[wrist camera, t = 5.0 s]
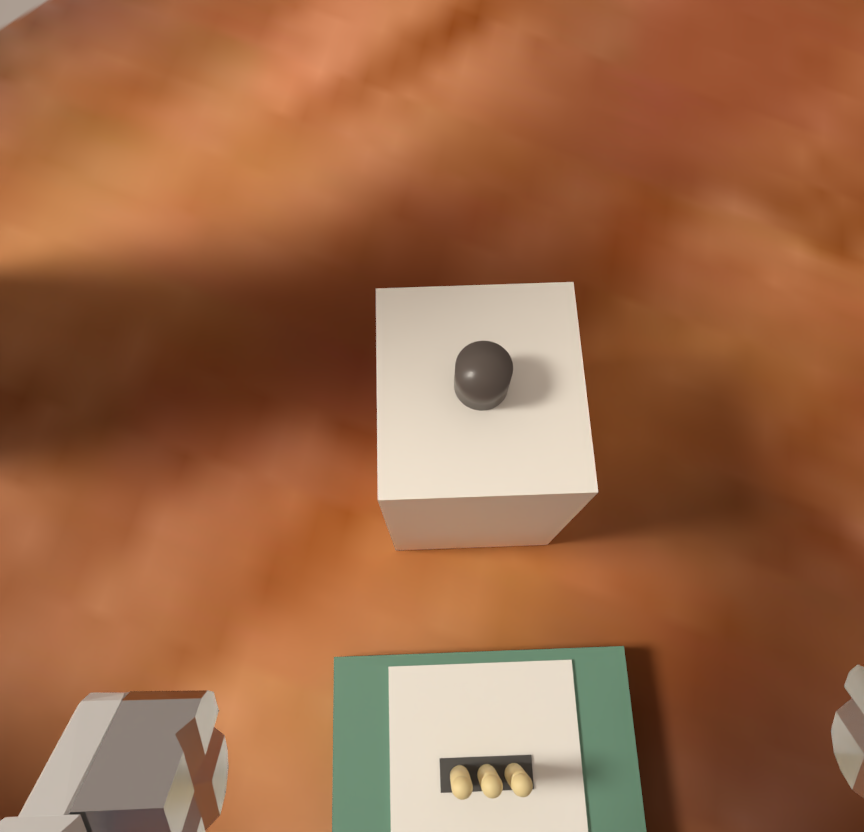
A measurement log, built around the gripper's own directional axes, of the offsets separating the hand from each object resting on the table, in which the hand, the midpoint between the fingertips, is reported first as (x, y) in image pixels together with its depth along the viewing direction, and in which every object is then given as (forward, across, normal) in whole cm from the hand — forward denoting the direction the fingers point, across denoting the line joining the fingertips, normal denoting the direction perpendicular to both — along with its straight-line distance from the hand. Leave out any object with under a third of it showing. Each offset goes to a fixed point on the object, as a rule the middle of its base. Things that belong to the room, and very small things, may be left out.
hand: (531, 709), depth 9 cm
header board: (+5, 0, -11) cm, 12 cm away
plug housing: (+12, 0, -4) cm, 13 cm away
